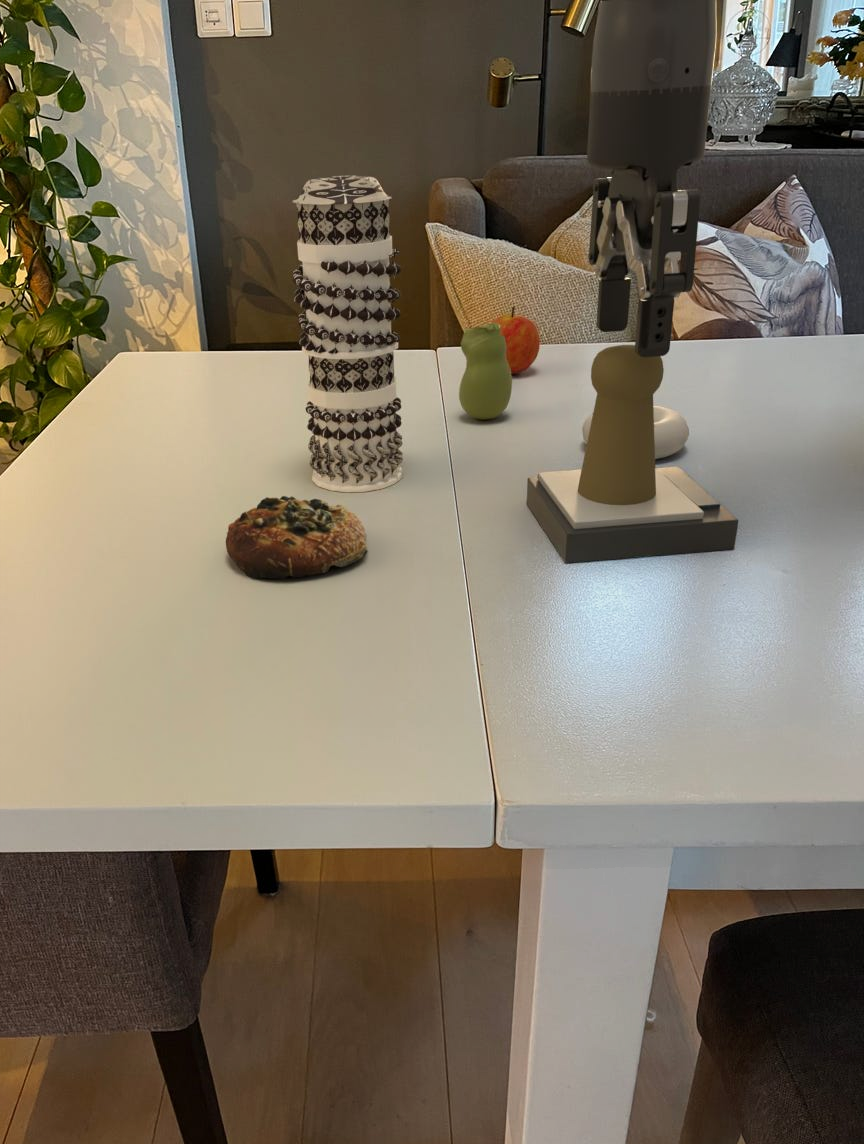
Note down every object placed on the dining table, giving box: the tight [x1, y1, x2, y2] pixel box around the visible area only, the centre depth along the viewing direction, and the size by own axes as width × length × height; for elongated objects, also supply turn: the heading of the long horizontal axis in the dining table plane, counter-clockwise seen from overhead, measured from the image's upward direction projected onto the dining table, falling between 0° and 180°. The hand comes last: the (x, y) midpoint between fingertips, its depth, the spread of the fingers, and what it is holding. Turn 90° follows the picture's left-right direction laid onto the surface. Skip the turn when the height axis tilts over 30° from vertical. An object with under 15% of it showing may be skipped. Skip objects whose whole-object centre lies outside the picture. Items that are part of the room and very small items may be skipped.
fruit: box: [490, 306, 541, 375], centre depth 117 cm, size 7×7×8 cm
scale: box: [526, 466, 740, 564], centre depth 75 cm, size 13×12×3 cm
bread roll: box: [225, 495, 369, 580], centre depth 73 cm, size 11×11×5 cm
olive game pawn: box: [578, 344, 665, 505], centre depth 72 cm, size 6×6×11 cm
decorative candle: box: [291, 175, 404, 493], centre depth 82 cm, size 9×9×25 cm
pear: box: [458, 322, 513, 421], centre depth 100 cm, size 6×5×10 cm
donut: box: [581, 404, 690, 460], centre depth 91 cm, size 10×4×10 cm
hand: (630, 342), depth 69 cm, fingers open, 8 cm apart
